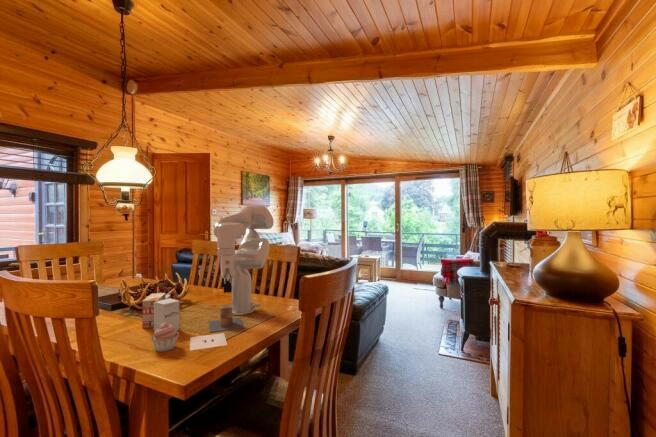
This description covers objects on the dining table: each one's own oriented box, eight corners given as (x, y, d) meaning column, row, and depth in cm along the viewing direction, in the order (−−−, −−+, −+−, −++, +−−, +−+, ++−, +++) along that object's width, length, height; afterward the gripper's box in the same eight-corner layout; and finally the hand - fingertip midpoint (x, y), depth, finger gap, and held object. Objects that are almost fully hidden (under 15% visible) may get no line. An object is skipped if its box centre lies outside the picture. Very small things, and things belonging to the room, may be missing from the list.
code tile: (224, 333, 132) (224, 332, 132) (227, 345, 120) (227, 344, 120) (190, 337, 127) (190, 337, 127) (189, 350, 115) (189, 350, 115)
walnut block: (231, 321, 145) (231, 304, 145) (232, 325, 140) (232, 307, 140) (219, 323, 143) (219, 305, 143) (220, 326, 138) (220, 308, 138)
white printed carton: (157, 313, 158) (157, 288, 158) (171, 312, 160) (171, 288, 160) (142, 328, 138) (142, 300, 137) (157, 327, 139) (157, 299, 139)
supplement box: (163, 335, 130) (163, 304, 130) (153, 331, 134) (153, 301, 134) (179, 329, 136) (179, 300, 136) (169, 326, 140) (169, 297, 140)
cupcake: (175, 353, 113) (175, 325, 113) (147, 355, 112) (147, 327, 111) (182, 342, 123) (182, 317, 122) (155, 344, 121) (155, 318, 120)
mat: (240, 318, 151) (240, 317, 151) (244, 328, 138) (244, 327, 138) (208, 322, 145) (208, 321, 145) (210, 333, 132) (210, 331, 132)
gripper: (237, 253, 135) (237, 293, 135) (233, 248, 151) (233, 284, 151) (218, 254, 132) (219, 295, 132) (216, 249, 148) (216, 285, 148)
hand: (226, 289), depth 142 cm, fingers open, 9 cm apart
